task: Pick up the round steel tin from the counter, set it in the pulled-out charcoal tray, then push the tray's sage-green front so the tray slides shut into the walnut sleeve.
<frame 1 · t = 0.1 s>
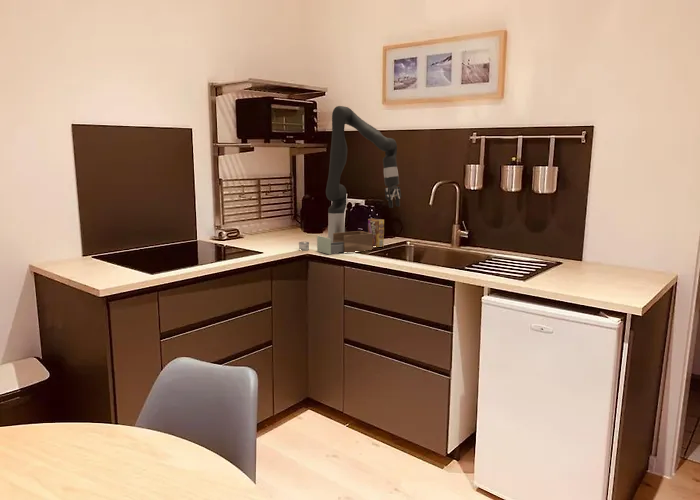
hand: (394, 207, 281), 22 cm above the table, tool pointing down, fingers open, 8 cm apart
candy box: (375, 247, 290), on the table
tray: (337, 243, 274), point 4 cm above the table, slide at 8.0 cm
steel tin: (304, 250, 280), on the table
sleeve: (351, 250, 279), on the table
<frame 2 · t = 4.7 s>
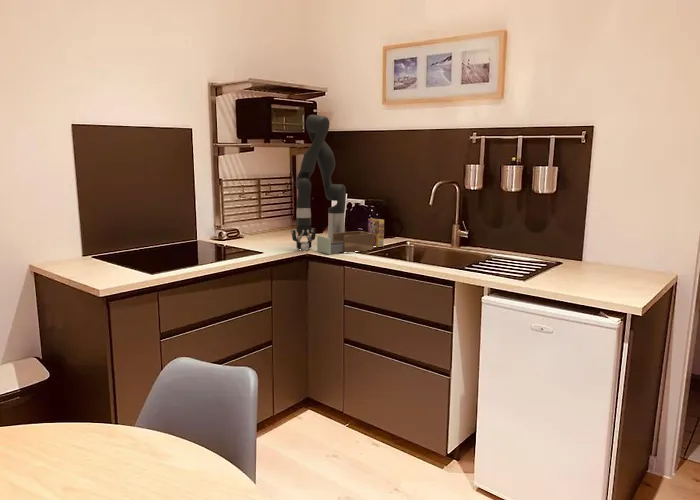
hand: (304, 248, 280), 1 cm above the table, tool pointing down, fingers closed on steel tin, 5 cm apart
steel tin: (304, 249, 280), on the table, touching gripper
everything else where it was.
when the fingers open (3 cm above the table, at t = 11.0 s): steel tin drops 1 cm, resting on tray.
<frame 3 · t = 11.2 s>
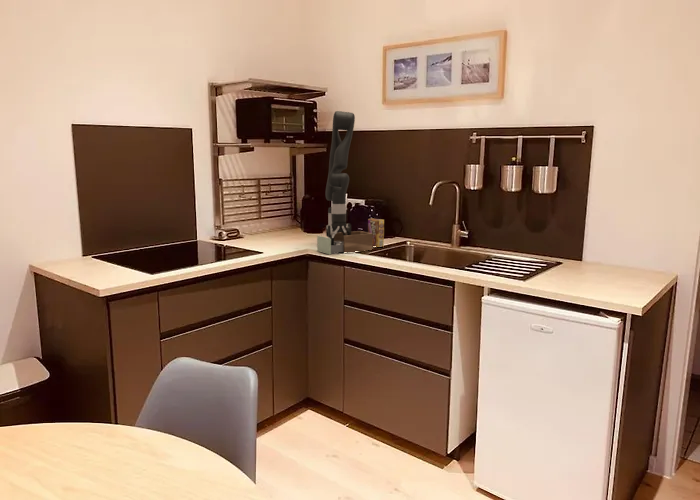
hand: (338, 244, 274), 4 cm above the table, tool pointing down, fingers open, 7 cm apart
tray: (337, 243, 274), point 4 cm above the table, slide at 8.0 cm, touching steel tin
steel tin: (338, 249, 275), point 1 cm above the table, touching tray
everything else where it was.
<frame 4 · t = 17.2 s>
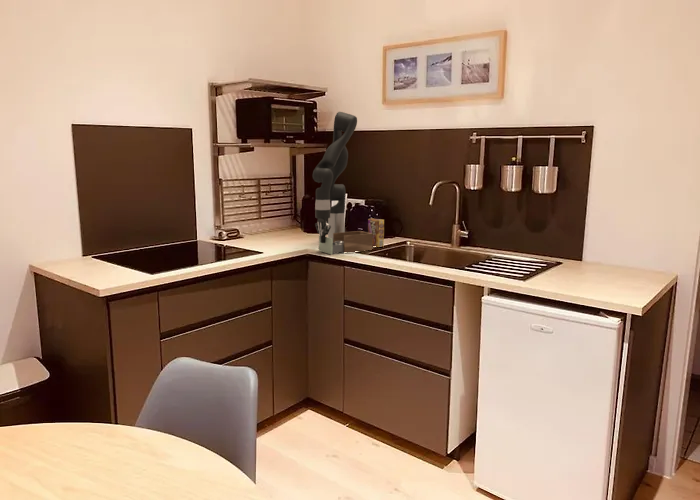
hand: (322, 242, 270), 5 cm above the table, tool pointing down, fingers closed
tray: (339, 243, 274), point 4 cm above the table, slide at 7.0 cm, touching gripper, steel tin
steel tin: (340, 249, 275), point 1 cm above the table, touching tray
everything else where it was.
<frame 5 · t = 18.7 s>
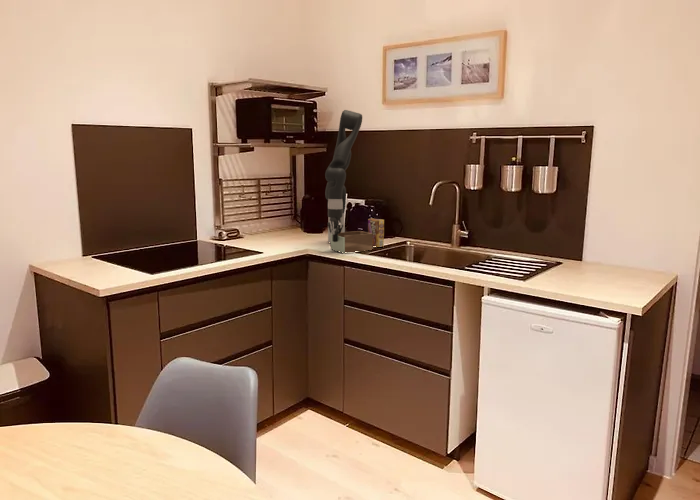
hand: (334, 241, 273), 5 cm above the table, tool pointing down, fingers closed
tray: (350, 242, 278), point 4 cm above the table, slide at -0.1 cm, touching gripper, steel tin
steel tin: (351, 248, 279), point 1 cm above the table, touching tray
everything else where it was.
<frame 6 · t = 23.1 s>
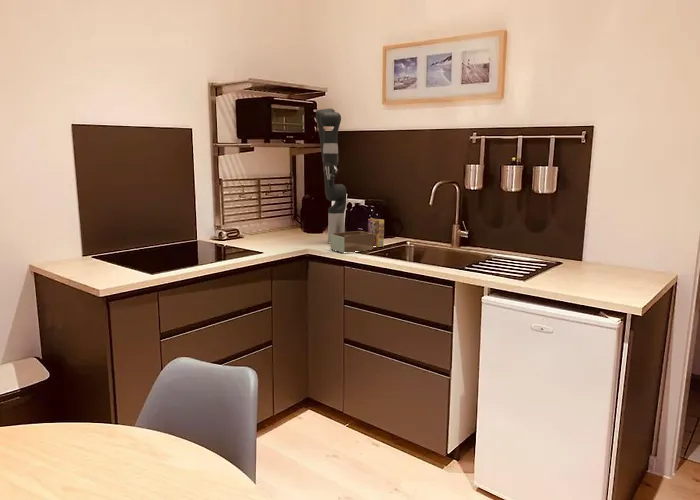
hand: (330, 187, 273), 33 cm above the table, tool pointing down, fingers closed
tray: (350, 242, 278), point 4 cm above the table, slide at 0.2 cm, touching steel tin
everything else where it was.
at the end: tray slide at 0.2 cm; steel tin inside the target area on the sleeve (0.2 cm from its centre), point 1.3 cm above the sleeve's base; steel tin tilted 0° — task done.
